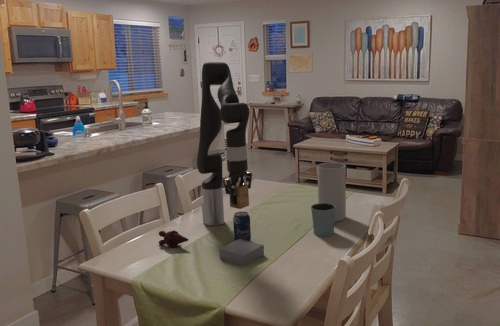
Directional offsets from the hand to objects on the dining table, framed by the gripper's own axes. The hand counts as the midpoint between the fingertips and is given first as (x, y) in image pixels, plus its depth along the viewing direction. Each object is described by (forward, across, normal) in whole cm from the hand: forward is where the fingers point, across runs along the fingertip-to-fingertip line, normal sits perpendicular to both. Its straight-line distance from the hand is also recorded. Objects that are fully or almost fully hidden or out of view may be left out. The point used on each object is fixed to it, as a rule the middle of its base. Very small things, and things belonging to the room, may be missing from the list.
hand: (239, 202), depth 174 cm
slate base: (+22, 0, 0) cm, 22 cm away
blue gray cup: (+22, -38, +13) cm, 46 cm away
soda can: (+22, -12, -10) cm, 27 cm away
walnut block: (+1, 0, 0) cm, 1 cm away
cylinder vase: (+22, -57, +6) cm, 61 cm away
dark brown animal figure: (+22, +8, -30) cm, 38 cm away
